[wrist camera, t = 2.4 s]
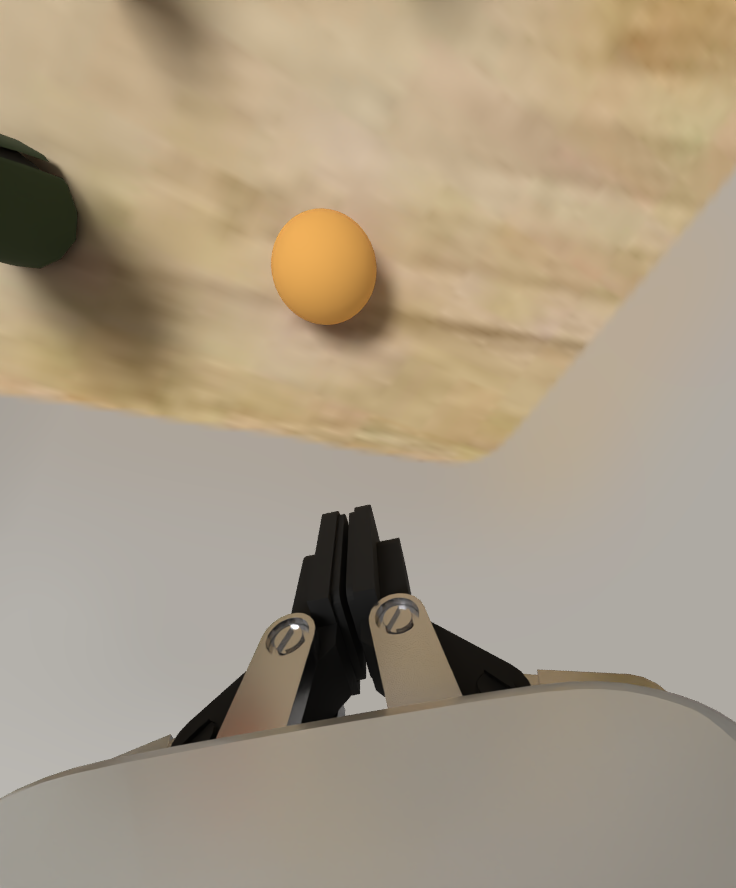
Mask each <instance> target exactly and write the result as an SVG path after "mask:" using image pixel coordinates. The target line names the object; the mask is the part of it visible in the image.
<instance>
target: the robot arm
mask: <svg viewBox="0 0 736 888" xmlns="http://www.w3.org/2000/svg"><path fill="white" fill-rule="evenodd" d="M366 663H367V666H368V669H369V673H370V676H371V677H372V679H373V682H374V685H375V688H376V690H377V691H378V692H379V693H380V694H382V695H383V696H384V697H386V702H387V707H388V709H383V710H377V711H371V712H366V713H360V714H354V715H348V716H345V708H344V703H345V702H346V701H347V700H348V699H349V698H350V696H351V695H357V694H360V680H362V679H366ZM537 671H538V672H537V673H538V675H531V674H523V673H522V672H521V671H520V670H518V669H517V668H515V667H514V666H513V665H511V664H509V663H507V662H505V661H504V660H502V659H499V658H498V657H496V656H494V655H492V654H490V653H489V652H487V651H485V650H483V649H481V648H479V647H477V646H475V645H474V644H472V643H470V642H468V641H466V640H464V639H462V638H461V637H458V636H457V635H455V634H453V633H451V632H449V631H447V630H446V629H444V628H442V627H440V626H438V625H436V624H434V623H432V622H431V621H430V619H429V617H428V614H427V612H426V610H425V607H424V606H423V604H422V602H421V601H420V600H419V599H417V598H416V597H415V596H412V595H411V592H410V586H409V581H408V576H407V571H406V566H405V562H404V557H403V552H402V548H401V543H400V539H399V538H395V539H391V540H385V541H380V540H379V536H378V532H377V528H376V524H375V520H374V516H373V512H372V508H371V505H365V506H361V507H356V508H355V510H354V512H352V513H349V525H348V521H347V518H346V515H345V514H343V515H340V513H339V512H338V511H336V512H331V513H327V514H323V515H322V519H321V525H320V530H319V535H318V541H317V547H316V552H315V555H310V556H306V557H305V558H304V560H303V564H302V569H301V573H300V577H299V582H298V586H297V591H296V596H295V599H294V604H293V608H292V613H291V614H288V615H286V616H283V617H281V618H279V619H278V620H276V621H275V622H274V623H272V624H271V625H270V627H268V629H267V630H266V631H265V633H264V634H263V636H262V638H261V640H260V642H259V644H258V647H257V649H256V651H255V653H254V656H253V658H252V660H251V662H250V664H249V666H248V669H247V671H246V672H245V673H244V674H242V675H241V676H240V677H239V678H238V679H237V680H236V681H235V682H233V683H232V684H231V685H230V686H229V687H228V688H227V689H226V690H224V691H223V692H222V693H221V694H220V695H219V696H218V697H217V698H215V700H213V701H212V702H211V703H210V704H209V705H208V706H207V707H205V708H204V709H203V710H202V711H201V712H200V713H199V714H198V715H197V716H195V717H194V718H193V719H192V720H191V721H190V722H189V723H188V724H187V725H186V726H185V727H184V728H183V729H182V730H181V731H180V732H179V734H178V735H177V737H176V738H174V739H173V737H172V736H171V735H168V736H165V737H163V738H161V739H158V740H156V741H153V742H151V743H148V744H146V745H143V746H141V747H139V748H136V749H134V750H131V751H129V752H127V753H124V754H122V755H119V756H117V757H114V758H112V759H108V760H104V761H100V762H96V763H92V764H88V765H84V766H80V767H76V768H72V769H69V770H66V771H63V772H60V773H57V774H54V775H51V776H48V777H45V778H43V779H40V780H38V781H36V782H33V783H31V784H29V785H26V786H24V787H22V788H19V789H17V790H15V791H13V792H11V793H9V794H8V795H6V796H4V797H2V798H0V888H736V722H734V721H732V720H731V719H729V718H728V717H726V716H725V715H723V714H721V713H720V712H718V711H716V710H714V709H712V708H710V707H708V706H706V705H704V704H702V703H699V702H697V701H695V700H692V699H688V698H686V697H683V696H680V695H677V694H674V693H670V692H667V691H665V690H664V689H663V688H662V687H660V686H659V685H658V684H656V683H654V682H652V681H650V680H648V679H646V678H644V677H640V676H635V675H631V674H616V673H596V672H575V671H555V670H537Z"/></svg>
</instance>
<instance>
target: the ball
mask: <svg viewBox="0 0 736 888" xmlns="http://www.w3.org/2000/svg"><path fill="white" fill-rule="evenodd" d="M271 269H272V276H273V280H274V283H275V286H276V289H277V291H278V293H279V295H280V297H281V298H282V300H283V302H284V303H285V304H286V305H287V307H288V308H289V309H290V310H291V311H293V312H294V313H295V314H296V315H298V316H299V317H301V318H303V319H304V320H307V321H309V322H312V323H316V324H322V325H332V324H338V323H341V322H344V321H346V320H348V319H350V318H352V317H353V316H355V315H356V314H357V313H358V312H360V311H361V309H362V308H363V307H364V306H365V305H366V303H367V302H368V300H369V298H370V296H371V294H372V292H373V289H374V285H375V281H376V259H375V254H374V250H373V248H372V245H371V242H370V241H369V239H368V237H367V235H366V234H365V232H364V231H363V229H362V228H361V227H360V226H359V225H358V224H357V223H356V222H355V221H354V220H352V219H351V218H350V217H348V216H346V215H345V214H342V213H340V212H338V211H334V210H331V209H312V210H308V211H305V212H302V213H300V214H298V215H296V216H295V217H294V218H292V219H291V220H290V221H289V222H288V223H287V224H286V225H285V226H284V227H283V228H282V230H281V231H280V233H279V235H278V236H277V239H276V241H275V244H274V247H273V251H272V258H271Z"/></svg>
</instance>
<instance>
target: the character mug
mask: <svg viewBox="0 0 736 888" xmlns="http://www.w3.org/2000/svg"><path fill="white" fill-rule="evenodd" d="M19 152H21V153H24V154H27V155H30V156H33V157H36V158H39V159H42V160H45V161H48V160H47V159H46V157H45V156H44V155H42V154H41V153H39V152H37V151H35V150H34V149H32V148H30V147H28V146H27V145H25V144H23V143H21V142H20V141H18V140H15V139H13V138H10V137H7V136H5V135H2V134H0V262H2V263H6V264H10V265H15V266H22V267H32V268H42V267H44V266H46V265H49V264H51V263H53V262H55V261H57V260H59V259H61V258H62V257H63V255H64V254H65V253H66V252H67V250H68V249H69V248H70V247H71V245H72V244H73V243H74V242H75V240H76V229H77V210H76V208H75V205H74V202H73V199H72V196H71V193H70V190H69V187H68V185H67V183H66V182H65V181H64V180H63V179H62V178H60V177H57V176H54V175H52V174H49V173H46V172H43V171H41V170H40V169H39V168H38V167H37V166H36V165H34V164H33V163H32V162H30V161H29V160H28V159H27V158H25V157H24V156H23V155H22V154H20V153H19ZM48 162H49V161H48Z"/></svg>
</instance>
